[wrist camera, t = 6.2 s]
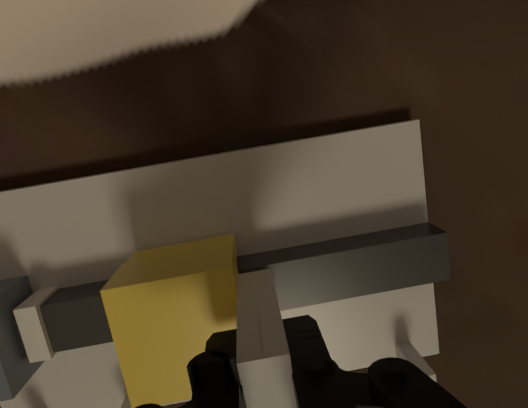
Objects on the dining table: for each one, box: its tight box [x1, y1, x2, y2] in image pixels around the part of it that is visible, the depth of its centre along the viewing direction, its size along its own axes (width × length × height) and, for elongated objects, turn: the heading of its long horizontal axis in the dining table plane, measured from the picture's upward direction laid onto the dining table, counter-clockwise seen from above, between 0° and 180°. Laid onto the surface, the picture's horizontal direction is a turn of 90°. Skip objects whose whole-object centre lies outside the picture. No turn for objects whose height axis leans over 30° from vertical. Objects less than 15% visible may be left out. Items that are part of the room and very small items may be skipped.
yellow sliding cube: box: [100, 234, 239, 408], centre depth 18 cm, size 5×5×5 cm
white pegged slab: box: [0, 120, 451, 408], centre depth 20 cm, size 24×13×5 cm, turn 100°
